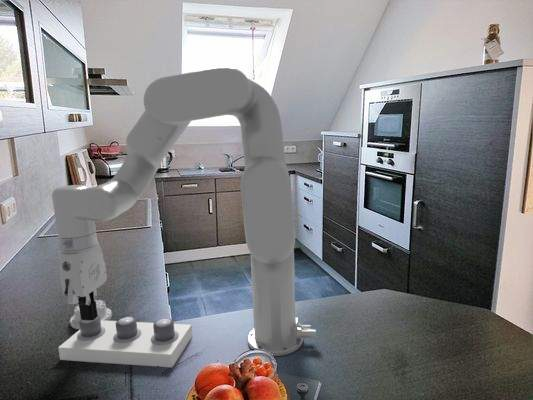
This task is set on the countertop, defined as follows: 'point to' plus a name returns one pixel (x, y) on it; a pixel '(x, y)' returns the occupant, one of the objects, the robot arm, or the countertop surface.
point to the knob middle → (126, 328)
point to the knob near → (164, 329)
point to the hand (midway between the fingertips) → (89, 318)
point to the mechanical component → (101, 311)
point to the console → (127, 346)
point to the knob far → (90, 327)
